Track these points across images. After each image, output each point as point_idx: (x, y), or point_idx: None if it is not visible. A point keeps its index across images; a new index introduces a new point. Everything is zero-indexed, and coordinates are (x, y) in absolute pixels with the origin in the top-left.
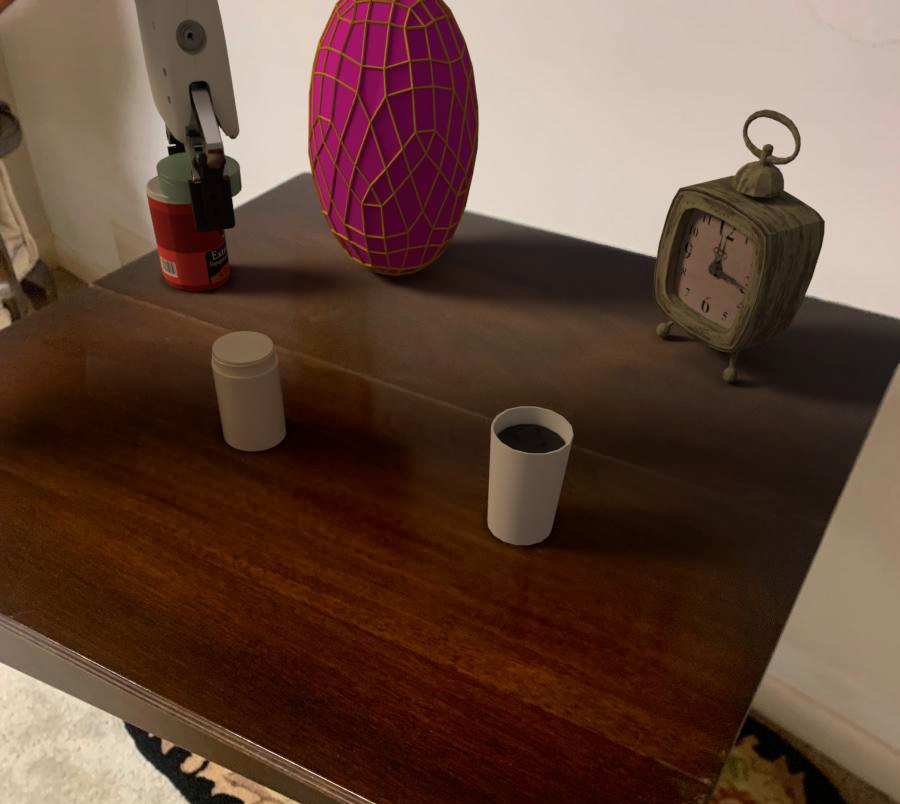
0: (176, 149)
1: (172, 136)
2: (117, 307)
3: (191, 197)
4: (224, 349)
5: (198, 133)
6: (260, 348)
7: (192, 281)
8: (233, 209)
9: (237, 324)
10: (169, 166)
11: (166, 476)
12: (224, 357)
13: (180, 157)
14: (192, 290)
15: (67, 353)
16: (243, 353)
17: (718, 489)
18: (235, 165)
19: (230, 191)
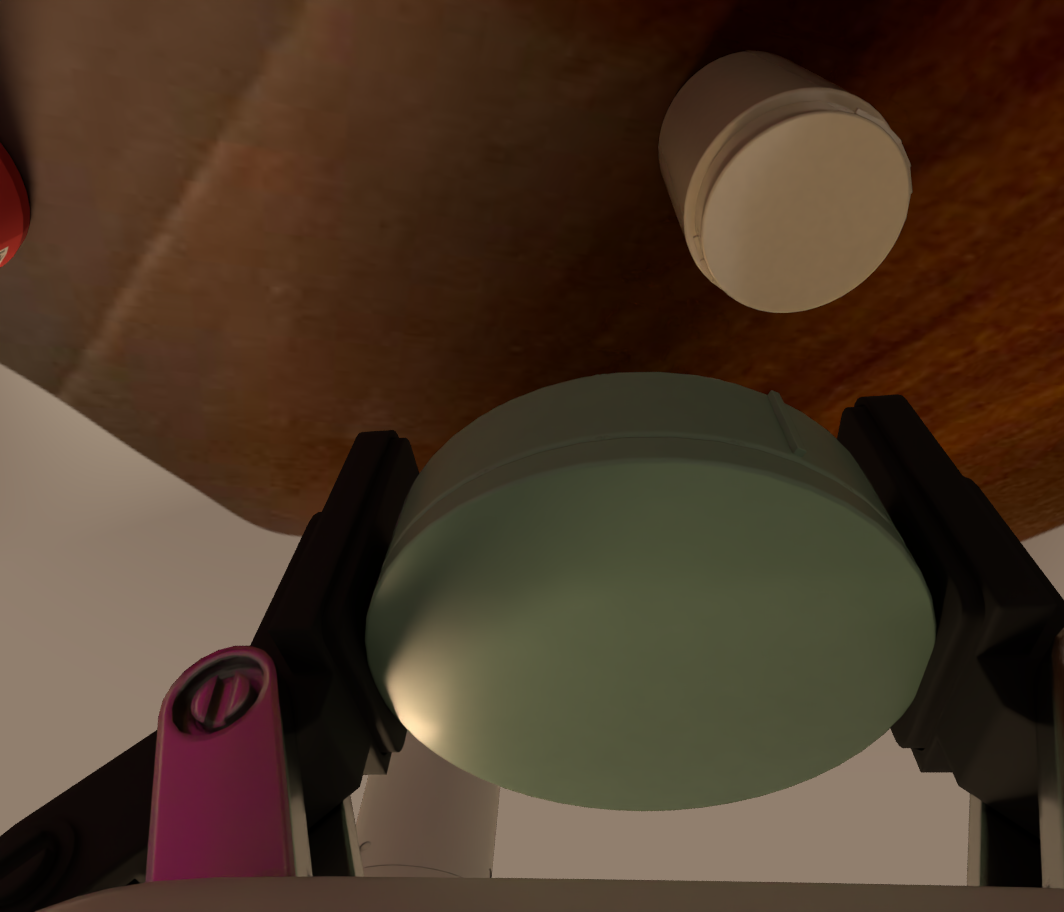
0: (377, 741)
1: (352, 824)
2: (143, 374)
3: None
4: (796, 280)
5: (288, 731)
6: (847, 165)
7: (11, 206)
8: (936, 446)
9: (194, 97)
10: (613, 777)
11: (800, 347)
12: (841, 287)
13: (477, 727)
14: (27, 201)
15: (333, 465)
16: (848, 228)
17: None
18: (697, 492)
19: (998, 531)
